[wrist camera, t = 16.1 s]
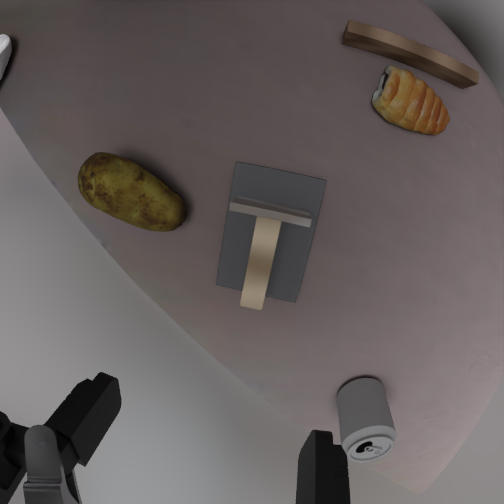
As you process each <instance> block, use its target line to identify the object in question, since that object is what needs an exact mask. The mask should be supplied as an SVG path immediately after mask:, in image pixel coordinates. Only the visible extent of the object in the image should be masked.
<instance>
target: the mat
mask: <svg viewBox="0 0 504 504" xmlns="http://www.w3.org/2000/svg"><path fill="white" fill-rule="evenodd" d="M325 184H326V180H322V179H318V178H314V177H310V176H305V175H301V174H296V173H292V172H287V171H282V170H277V169H272V168H267V167H262V166H257V165H252V164H247V163H241V162H236V166H235V171H234V177H233V183H232V188H231V194H230V200H229V206H228V212H227V218H226V224H225V230H224V236H223V242H222V249H221V255H220V261H219V268H218V274H217V281H216V285H219V286H223V287H227V288H232V289H236V290H240V291H243V286H244V281H245V276H246V271H247V266H248V261H249V255H250V250H251V245H252V240H253V235H254V230H255V224H256V219H257V216H255V215H250V214H246V213H241V212H236V211H231V210H229V208H230V203H231V201H233V200H234V199H235V198H237V197H238V196H241V197H246V198H251V199H256V200H260V201H265V202H270V203H275V204H279V205H284V206H288V207H293V208H297V209H302V210H306V211H309V212H310V215H311V219H312V220H311V225H310V227H305V226H301V225H297V224H292V223H288V222H283V221H282V222H281V226H280V231H279V235H278V240H277V244H276V249H275V253H274V258H273V262H272V267H271V271H270V276H269V280H268V284H267V289H266V293H265V296H267V297H271V298H276V299H281V300H285V301H290V302H295V303H296V299H297V295H298V292H299V288H300V285H301V281H302V277H303V273H304V270H305V266H306V262H307V258H308V254H309V251H310V247H311V243H312V239H313V235H314V231H315V227H316V223H317V218H318V214H319V210H320V206H321V201H322V197H323V193H324V188H325Z"/></svg>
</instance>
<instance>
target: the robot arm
mask: <svg viewBox="0 0 504 504" xmlns="http://www.w3.org/2000/svg"><path fill="white" fill-rule="evenodd" d="M120 408H121V395H120V388H119V382H118V379H117V378H115V377H113V376H110V375H108V374H105V373H103V372H100V373H98V375H97V376H96V377H95V378H94V379H93V381H92V380H89V379H86V380H84V381H82V382H80V383H78V384H77V385H76V386H75V388H74V389H73V390H72V391H71V394H69V395H68V396H67V397H66V399H65V400H64V401H63V402H62V403H61V405H60V406H59V407H58V408H57V409H56V411H55V412H54V413H53V415H52V416H51V417H50V418H49V420H48V421H47V422H46V423H45V424H43V425H35V426H32V427H31V428H28V427H25V426H21V425H18V424H15V423H12V422H10V420H9V419H8V417H7V416H6V414H4V413H2V412H0V504H8V503H9V501H10V499H11V497H12V496H13V494H14V492H15V490H16V489H17V487H18V485H19V483H20V482H21V480H22V478H23V477H24V475H25V473H26V472H27V482H24V485H23V490H24V497H25V504H82V501H81V498H80V494H79V490H78V486H77V481H76V476H75V472H74V467H75V465H76V464H77V463H79V464H81V465H83V466H86V465H87V463H88V461H89V460H90V458H91V457H92V455H93V453H94V452H95V450H96V448H97V447H98V445H99V444H100V442H101V440H102V439H103V437H104V435H105V434H106V432H107V431H108V429H109V427H110V426H111V424H112V423H113V421H114V420H115V418H116V416H117V415H118V413H119V411H120ZM347 467H348V463H347V455H346V453H345V451H344V449H343V447H342V446H341V445H334V444H333V435H332V432H330V431H320V430H312V431H311V433H310V435H309V437H308V438H307V440H306V442H305V444H304V445H303V447H302V449H301V452H300V454H299V459H298V476H297V492H296V504H350V488H349V477H348V468H347Z"/></svg>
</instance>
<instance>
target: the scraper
mask: <svg viewBox="0 0 504 504" xmlns="http://www.w3.org/2000/svg"><path fill="white" fill-rule="evenodd" d="M229 210H231V211H236V212H241V213H246V214H250V215H255V216H257V219H256V224H255V230H254V235H253V240H252V245H251V250H250V255H249V261H248V266H247V271H246V276H245V281H244V286H243V292H242V297H241V302H240V306H243V307H248V308H252V309H256V310H262V306H263V302H264V297H265V293H266V289H267V284H268V280H269V276H270V271H271V267H272V262H273V258H274V253H275V249H276V244H277V240H278V235H279V231H280V226H281V222H282V221H283V222H288V223H292V224H297V225H301V226H305V227H310V225H311V220H312V219H311V215H310V212H309V211H306V210H302V209H297V208H293V207H288V206H284V205H279V204H275V203H270V202H265V201H260V200H256V199H251V198H246V197H241V196H238V197H237V198H235V199H234V200H233V201H231V203H230V208H229Z"/></svg>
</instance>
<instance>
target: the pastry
mask: <svg viewBox="0 0 504 504" xmlns="http://www.w3.org/2000/svg"><path fill="white" fill-rule="evenodd" d="M372 104H373V106H374V108H375V109H376V110H377V112H378V113H380V114H381V115H382V117H383V118H384V119H385V120H387V121H388V122H390V123H393V124H396V125H398V126H400V127H403V128H405V129H407V130H412V131H416V132H420V133H423V134H428V135H436V134H439V133H441V132H443V131H444V129H445V128H446V126H447V124H448V123H449V121H450V117H449V115H448V111H447V109H446V107H445V106H444V104H443V103H442V99H441V98H440V97H439V96H437V95H436V94H435V92H434V90H433V89H432V88H430V87H428V86H427V84H426V83H425V82H424V81H423V80H420V79H418V78H416V77H414V75H413V73H412V72H411V71H409V70H403V69H399V68H396V67H395V66H393V65H390V66H388V67H387V68H386V70H385V74H384V75H382V77H381V79H380V83H379V87H378V90H377V91H376V92H375V93H374V95H373V98H372Z"/></svg>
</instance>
